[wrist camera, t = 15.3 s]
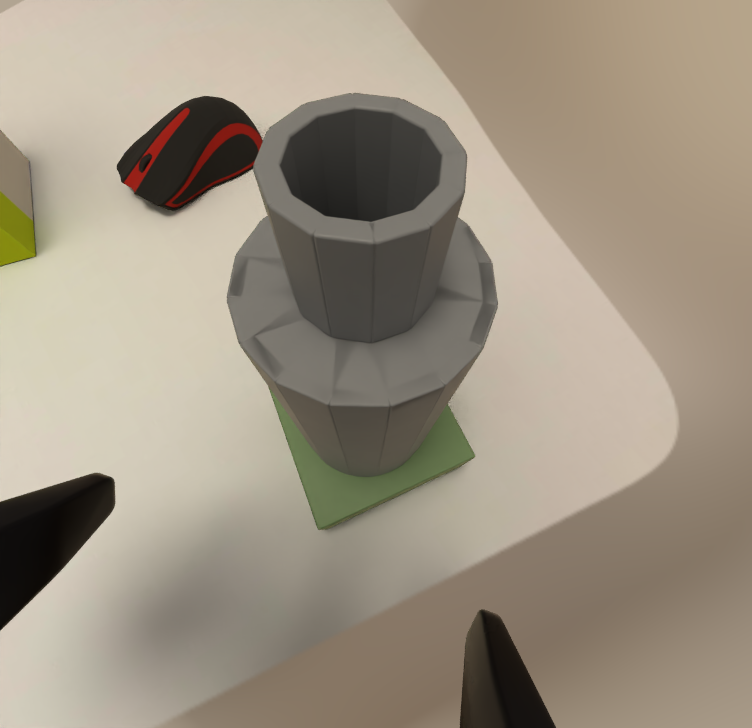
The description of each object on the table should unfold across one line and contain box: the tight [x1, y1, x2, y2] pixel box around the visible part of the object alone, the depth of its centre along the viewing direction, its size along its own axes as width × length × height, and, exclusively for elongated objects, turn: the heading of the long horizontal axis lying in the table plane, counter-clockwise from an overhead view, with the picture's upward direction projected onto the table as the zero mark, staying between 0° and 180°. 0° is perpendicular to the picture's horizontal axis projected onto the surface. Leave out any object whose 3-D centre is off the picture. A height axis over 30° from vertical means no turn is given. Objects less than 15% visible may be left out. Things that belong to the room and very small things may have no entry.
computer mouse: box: [117, 96, 263, 210], centre depth 28 cm, size 6×11×4 cm, turn 137°
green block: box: [268, 386, 475, 530], centre depth 20 cm, size 8×8×3 cm
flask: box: [227, 93, 498, 477], centre depth 12 cm, size 6×6×14 cm
